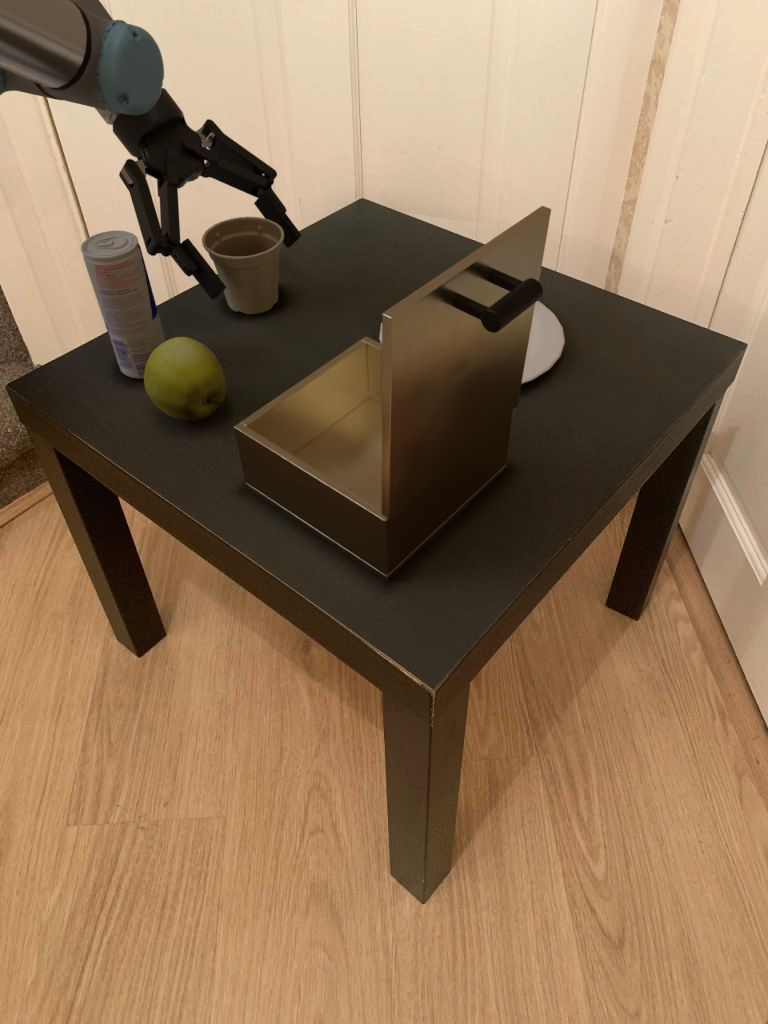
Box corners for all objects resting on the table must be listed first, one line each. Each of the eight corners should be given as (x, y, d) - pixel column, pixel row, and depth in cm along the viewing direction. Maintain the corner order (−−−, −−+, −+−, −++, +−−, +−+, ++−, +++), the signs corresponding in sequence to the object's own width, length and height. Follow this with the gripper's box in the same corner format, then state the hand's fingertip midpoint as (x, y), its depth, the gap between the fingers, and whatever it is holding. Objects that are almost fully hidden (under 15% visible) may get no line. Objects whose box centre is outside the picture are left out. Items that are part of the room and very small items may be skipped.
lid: (381, 313, 48) (441, 343, 46) (542, 205, 57) (598, 226, 55) (381, 514, 62) (427, 544, 60) (510, 402, 70) (554, 425, 68)
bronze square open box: (246, 488, 75) (233, 426, 70) (368, 397, 84) (365, 335, 79) (387, 582, 67) (385, 520, 62) (505, 470, 76) (513, 408, 71)
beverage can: (181, 364, 89) (149, 240, 78) (140, 388, 86) (100, 263, 75) (152, 345, 92) (117, 222, 81) (110, 367, 89) (68, 243, 78)
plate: (454, 275, 100) (454, 263, 99) (598, 336, 91) (600, 323, 90) (341, 350, 90) (340, 338, 89) (490, 428, 80) (491, 416, 79)
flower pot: (307, 299, 97) (301, 234, 91) (248, 333, 93) (237, 266, 86) (258, 273, 102) (248, 208, 96) (199, 303, 97) (185, 237, 91)
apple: (198, 374, 88) (183, 312, 82) (247, 412, 83) (235, 349, 77) (137, 406, 84) (117, 343, 78) (185, 448, 79) (167, 384, 74)
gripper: (200, 91, 98) (308, 236, 103) (38, 167, 84) (171, 331, 89) (225, 51, 92) (338, 207, 97) (55, 126, 78) (197, 304, 83)
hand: (258, 267), depth 93 cm, fingers open, 13 cm apart
